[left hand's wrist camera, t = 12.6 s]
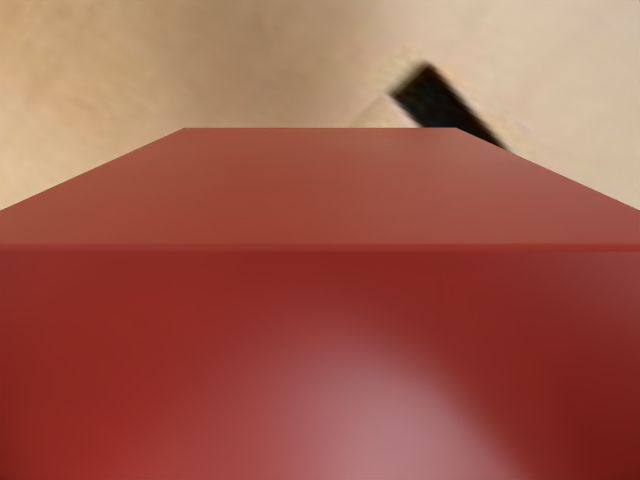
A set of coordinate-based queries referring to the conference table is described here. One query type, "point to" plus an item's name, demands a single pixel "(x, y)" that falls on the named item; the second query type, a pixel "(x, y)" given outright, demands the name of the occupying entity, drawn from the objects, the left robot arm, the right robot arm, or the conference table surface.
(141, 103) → the conference table surface
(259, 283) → the block
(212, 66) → the conference table surface
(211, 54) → the conference table surface
